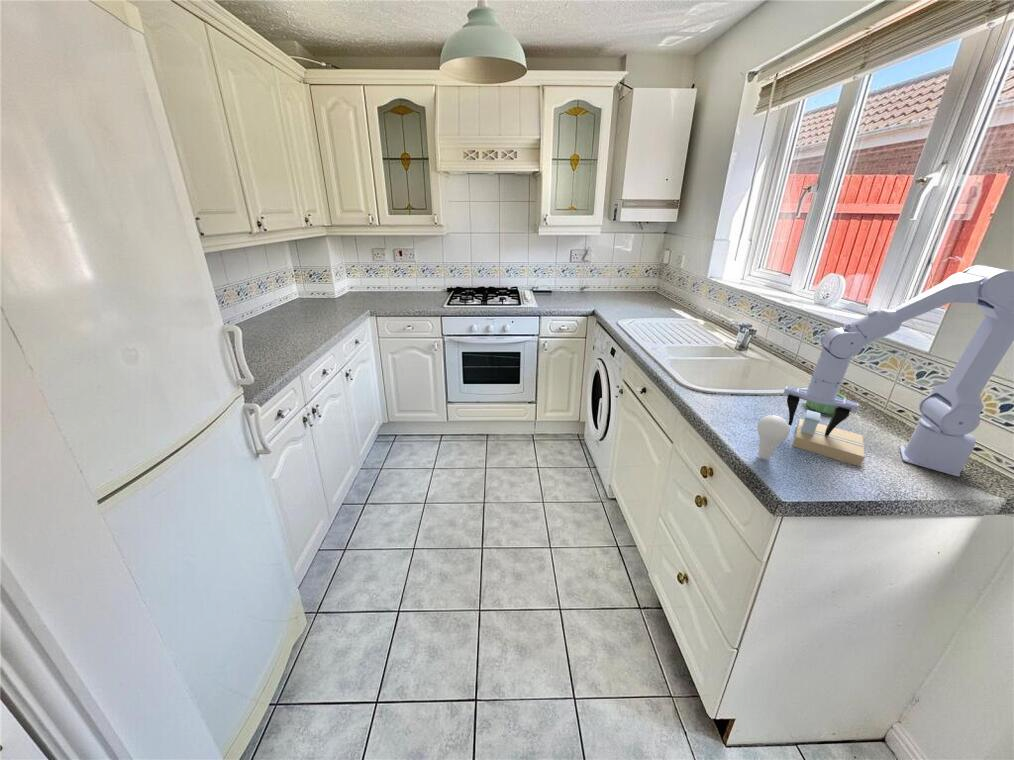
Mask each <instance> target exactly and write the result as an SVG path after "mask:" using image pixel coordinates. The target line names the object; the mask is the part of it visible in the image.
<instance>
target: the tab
mask: <svg viewBox="0 0 1014 760" xmlns="http://www.w3.org/2000/svg"><path fill="white" fill-rule="evenodd" d="M803 420H804V422H803V424H802V430H801V432H803V433H806V434H810V435H814V432H815V430H816V427H817V424H820V421H821V412H818V411H815V410H809V409H806V412H805V417H804V418H803Z"/></svg>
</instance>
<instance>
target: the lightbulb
mask: <svg viewBox="0 0 1014 760" xmlns="http://www.w3.org/2000/svg"><path fill="white" fill-rule="evenodd" d="M788 423H789V422H788V421H787V420H786V419H785V418H783V417H781V416H779V415H774V414H773V415H771V414H770V415H767V416H764V417H762V418H761V419H760V420H759V421H758V423H757V427H756V429H757V434H758V436H759V444H758V447H759V448H758V452H757V454H758V457H760V459H762V460H770V459H771V457H772V455H773V453H774V452H775V451H776V448H777V447H778V446H779V444H780V443H782V442H784V441H785V440H786V439H787V438H788V437H789V435H790V432H791V427H790V425H789V424H788Z"/></svg>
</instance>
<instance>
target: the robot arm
mask: <svg viewBox="0 0 1014 760" xmlns="http://www.w3.org/2000/svg"><path fill="white" fill-rule="evenodd" d="M952 303H953V304H955V303H959V304H960V303H962V304H966V303H967V304H976V306H977V307H978V308H979V309H980V310H981V312H982V313H983V314H984V316H983V319H982V320H981V322H980V324H979V325H978V326H977V329H976V330H975V332H974V334H973V335H972V337H971V339H970V340H969V343H968V344H967V346H966V348H965V349H964V351H963V353H962V355H960V357H959V359H958V361H957V362H956V365H955V366H954V368H953V369H952V371H951V373H950V375H949V377H948V378H947V380H946V382H945V383H942V384H939V385H937V386H935V387H934V388H933V389H932V391H931V392H930V393H929V394H928V395H926V396H925V397H923V398H922V399H921V400H920V402H919V405H918V409H919V412H920V413H921V415H920V417H919V418H920V419H919V421H918V423H917V425H916V426H915V429H914V430H913V433H912V435H911V437H910V438H909V441H908V442H907V445H906V446H904V445H900V446H899V451H900V455H901V459H902V461H903V462H905V463H908V464H912V465H916V466H919V467H923V468H926V469H929V470H934V471H938V472H940V473H944V474H948V475H952V476H955V477H959V478H960V476H961V474H960V473H961V471H962V470H963V468H964V466H965V465H966V463H967V461H968V460H969V458H970V456H971V455H972V453H973V450H974V449H975V445H976V437H975V436H974V435H973V434H971V433H972V432H974V431H976V429H977V428H978V427H979V425H980V423H981V418H980V416H981V412H982V411H983V409H984V404H983V401H982V397H981V393H982V391H983V390H984V388H985V386H986V385H987V383H988V382H989V380H990V378H991V377H992V376H993V374H994V372H995V371H996V369H997V367H998V366H999V364H1000V363H1001V361H1002V360H1003V358H1004V356H1005V355H1006V353H1007V351H1008V350H1009V349H1010V347H1011V345H1012V344H1013V342H1014V270H1012V269H1010V270H1009V269H1003V268H998V267H993V266H991V265H987V264H976V265H973V266H969V267H967V268H966V269H964V270H962V271H961V272H960V271H959V272H957V273H954V274H952V275H949V277H948V278H946V279H945V280H944V281H942V282H941V283H938V284H937V285H935V286H933V287H931V288H930V289H927V290H926V291H924V292H922V293H920V294H918V295H916V296H914V297H912V298H910V299H909V300H907V301H905V302H904V303H901V304H899V305H898V306H896V307H894V308H892V309H891V308H890V309H888V308H887V309H886V308H879V309H877V310H876V309H874V308H873V309H871V310H869V311H867V315H865V316H863V317H861V318H859V319H857V320H855V321H853V322H852V321H851V322H850V323H849V322H846V323H844V324H843V327H835V328H831V329H829V330H828V331H826V333H825V334H824V335H823V336H820V344H821V347H822V350H821V352H820V355H819V357H818V360H817V362H816V364H815V368H814V370H813V373H812V376H811V378H810V382H809V385H808V387H807V389H806V388H798V387H791V386H787V385H786V386H785V387H784V390H783V394H782V396H784V397H787V398H786V404H787V408H788V417H789V418H788V422H787V423H788V424H789V426H792V425H793V422H794V418H795V417H794V416H795V414H796V411H797V409H798V405H799V402H800V400H804V401H807V400H808V401H812V402H816V403H820V404H824V405H828V406H832V407H835V410H834V413H833V414H832V415H831V419H830V421H829V423H828V425H826V426H827V429H826V431H825V435H827V436H829V434H830V433H831V431H832V430H833V429H834V428H837V426H838V425H839V424H841V422H843V421H845V420H846V419H848V417H849V416H850V413H853V414H856V413H857V411H858V409H859V406H860V404H859V403H858V402H855V401H851V400H849V399H847V398H846V399H843V398H840V397H837V393H839V390H840V388H841V386H842V383H843V380H844V378H845V375H846V372H847V370H848V367H849V365H850V363H851V361H852V358H853V357H855V356H857V355H859V353H860V352H861V351H862V350H863V348H864V347H865V346H867V345H869V344H872V343H874V342H877V341H878V340H881V339H882V338H885V337H888V336H889V335H892V334H893V333H896V332H898V331H899V330H900V327H902V326H901V325H902V324H903V322H906V321H909V320H912V319H914V318H917V317H919V316H921V315H924V314H927V313H929V312H931V311H933V310H935V309H938V308H940V307H943V306H945V305H949V304H952Z"/></svg>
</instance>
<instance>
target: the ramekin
mask: <svg viewBox="0 0 1014 760" xmlns="http://www.w3.org/2000/svg"><path fill="white" fill-rule="evenodd" d="M837 397H840V398H843V399H846V400H847V398H846V396H844V395H843V394H840V393H839V392H838V393H837ZM805 404H806V406H807V407H808V408H810V409H812V411H815V412H818V413H822V414H828V415H833V413H834V410H835V407H832V406H828V405H824V404H820V403H816V402H812V401H808V400H806V403H805Z"/></svg>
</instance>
